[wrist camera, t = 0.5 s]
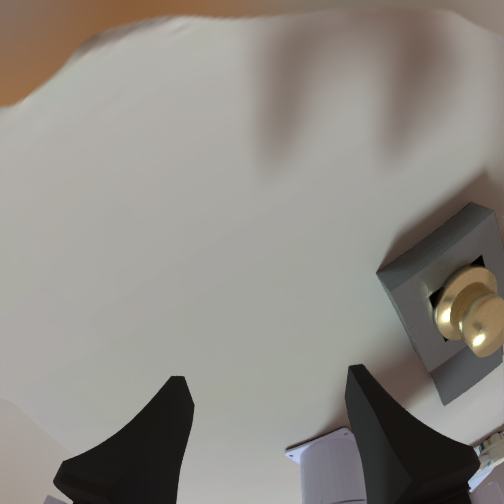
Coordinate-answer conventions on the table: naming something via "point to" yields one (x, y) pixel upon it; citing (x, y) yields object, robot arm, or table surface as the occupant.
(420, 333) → the housing
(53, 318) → the table surface
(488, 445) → the toothbrush head
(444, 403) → the mat
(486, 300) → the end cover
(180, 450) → the robot arm
